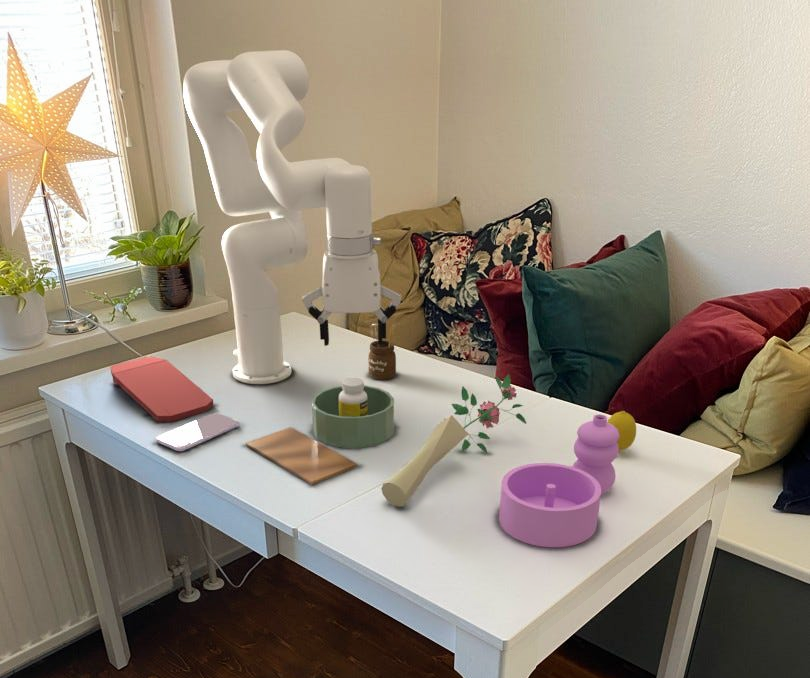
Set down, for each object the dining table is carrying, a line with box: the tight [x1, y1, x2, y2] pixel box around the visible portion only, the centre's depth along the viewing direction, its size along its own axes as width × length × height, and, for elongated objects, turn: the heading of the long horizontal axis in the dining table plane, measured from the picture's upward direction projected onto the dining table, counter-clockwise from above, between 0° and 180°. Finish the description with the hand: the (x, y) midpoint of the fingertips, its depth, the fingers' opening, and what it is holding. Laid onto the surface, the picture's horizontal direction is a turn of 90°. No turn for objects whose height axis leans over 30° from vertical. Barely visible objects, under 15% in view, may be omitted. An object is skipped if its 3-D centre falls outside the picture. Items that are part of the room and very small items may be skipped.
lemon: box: [607, 410, 637, 452], centre depth 157 cm, size 6×6×8 cm
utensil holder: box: [367, 323, 397, 381], centre depth 187 cm, size 6×6×12 cm
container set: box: [498, 414, 620, 548], centre depth 139 cm, size 25×15×13 cm, turn 140°
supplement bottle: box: [339, 377, 368, 417], centre depth 164 cm, size 5×5×10 cm
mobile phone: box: [155, 412, 240, 452], centre depth 165 cm, size 8×1×15 cm
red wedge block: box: [109, 355, 214, 423], centre depth 179 cm, size 12×5×25 cm
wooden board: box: [245, 427, 358, 486], centre depth 158 cm, size 20×10×1 cm, turn 42°
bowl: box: [311, 384, 395, 449], centre depth 165 cm, size 15×15×6 cm
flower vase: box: [381, 374, 527, 508], centre depth 153 cm, size 12×12×35 cm
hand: (353, 342), depth 157 cm, fingers open, 9 cm apart
